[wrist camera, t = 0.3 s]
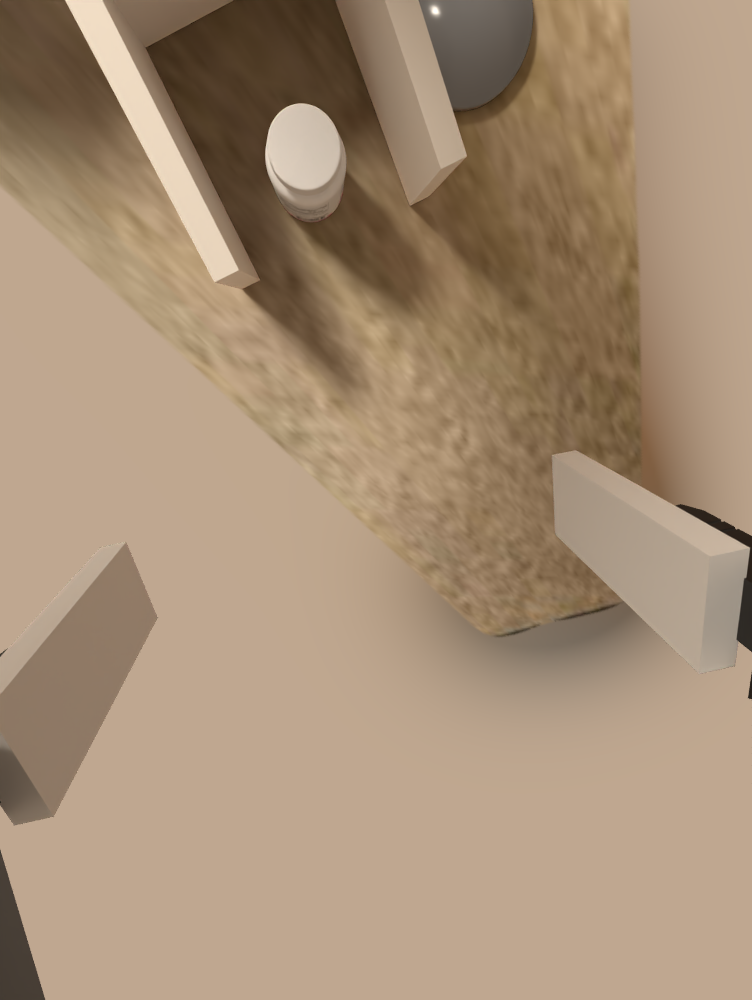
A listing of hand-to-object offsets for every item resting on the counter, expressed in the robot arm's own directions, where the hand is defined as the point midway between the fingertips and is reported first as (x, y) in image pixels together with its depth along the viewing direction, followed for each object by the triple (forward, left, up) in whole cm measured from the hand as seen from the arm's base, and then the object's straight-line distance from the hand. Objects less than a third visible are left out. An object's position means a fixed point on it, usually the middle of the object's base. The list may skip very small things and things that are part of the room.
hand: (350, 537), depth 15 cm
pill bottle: (-14, +5, -27) cm, 30 cm away
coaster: (-18, +18, -26) cm, 37 cm away
